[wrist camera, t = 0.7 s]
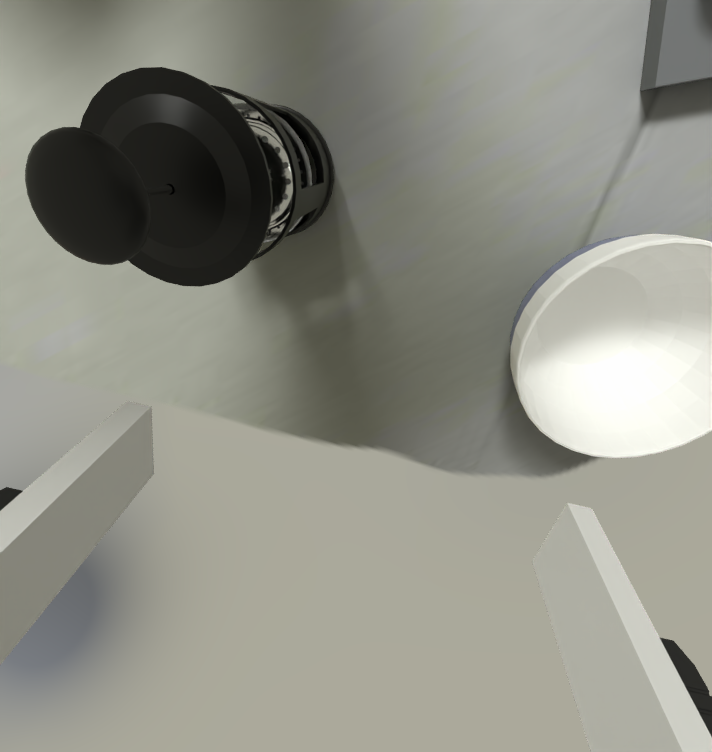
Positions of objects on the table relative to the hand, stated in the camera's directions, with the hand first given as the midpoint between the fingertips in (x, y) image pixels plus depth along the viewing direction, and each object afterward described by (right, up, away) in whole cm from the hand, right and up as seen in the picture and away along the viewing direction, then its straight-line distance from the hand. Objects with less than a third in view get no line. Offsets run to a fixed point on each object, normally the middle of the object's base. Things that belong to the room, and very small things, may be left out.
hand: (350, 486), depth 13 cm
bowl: (+20, +9, +23) cm, 32 cm away
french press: (-7, +20, +21) cm, 29 cm away
